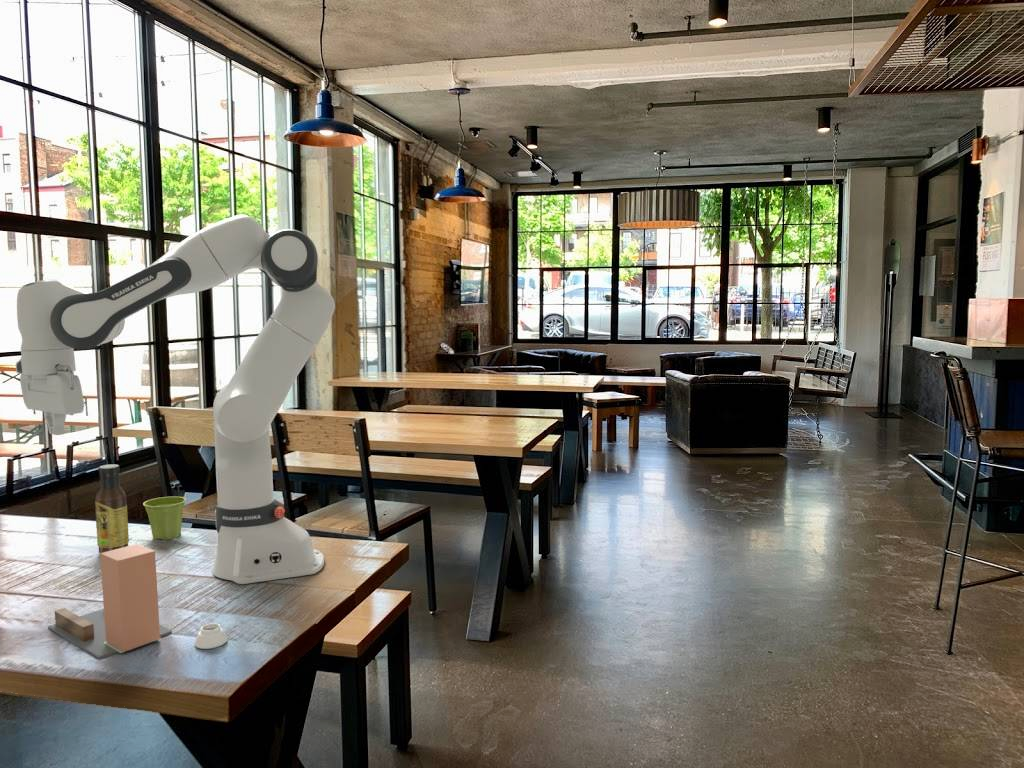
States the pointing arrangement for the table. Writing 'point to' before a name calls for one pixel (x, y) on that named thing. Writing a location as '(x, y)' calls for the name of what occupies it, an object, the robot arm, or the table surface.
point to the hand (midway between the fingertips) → (56, 434)
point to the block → (130, 596)
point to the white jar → (210, 636)
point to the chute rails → (74, 624)
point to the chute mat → (97, 636)
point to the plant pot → (165, 516)
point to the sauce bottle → (111, 511)
